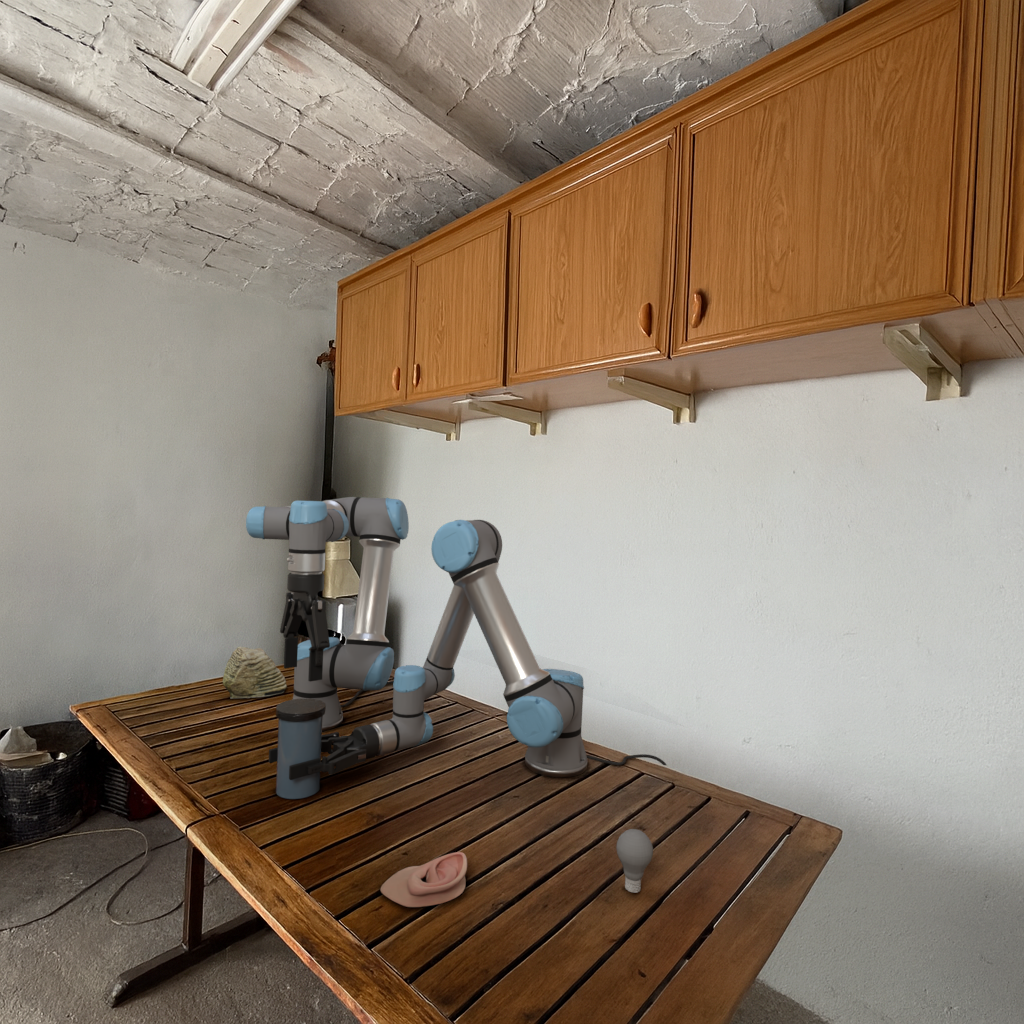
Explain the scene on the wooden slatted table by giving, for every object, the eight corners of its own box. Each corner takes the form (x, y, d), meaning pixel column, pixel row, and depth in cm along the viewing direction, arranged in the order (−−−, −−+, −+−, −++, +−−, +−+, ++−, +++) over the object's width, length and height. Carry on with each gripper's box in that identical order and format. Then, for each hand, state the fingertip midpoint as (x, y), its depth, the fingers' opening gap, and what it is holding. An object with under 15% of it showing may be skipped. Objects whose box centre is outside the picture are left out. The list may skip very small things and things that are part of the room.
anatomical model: (373, 876, 100) (400, 838, 111) (372, 901, 100) (399, 861, 111) (454, 890, 97) (473, 850, 108) (452, 915, 97) (472, 873, 108)
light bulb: (610, 879, 108) (613, 822, 108) (644, 879, 109) (647, 822, 109) (619, 902, 102) (622, 840, 102) (655, 901, 103) (658, 840, 103)
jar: (290, 803, 130) (293, 718, 130) (267, 789, 136) (270, 707, 136) (328, 789, 137) (331, 708, 137) (305, 776, 143) (308, 698, 143)
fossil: (218, 695, 195) (220, 647, 195) (278, 685, 208) (279, 640, 207) (228, 703, 189) (230, 653, 188) (289, 692, 201) (290, 645, 201)
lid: (292, 725, 129) (292, 717, 129) (266, 712, 136) (267, 705, 136) (334, 713, 137) (335, 706, 137) (308, 702, 144) (308, 695, 144)
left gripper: (266, 567, 142) (263, 664, 142) (315, 580, 125) (311, 690, 125) (298, 565, 147) (295, 659, 147) (349, 578, 130) (345, 683, 130)
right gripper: (398, 772, 141) (302, 802, 126) (348, 741, 157) (258, 764, 142) (399, 739, 141) (303, 764, 125) (349, 711, 157) (259, 731, 142)
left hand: (302, 673), depth 136 cm, fingers open, 11 cm apart
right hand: (279, 764), depth 134 cm, fingers open, 10 cm apart
